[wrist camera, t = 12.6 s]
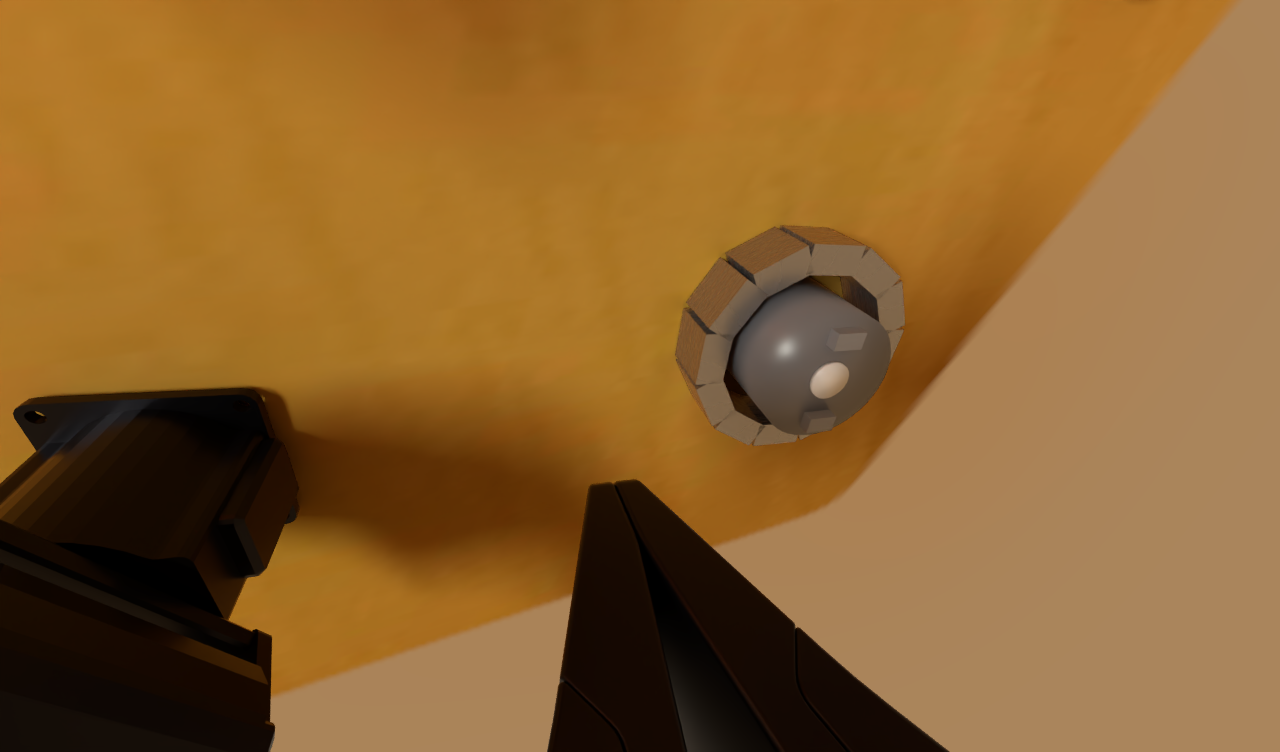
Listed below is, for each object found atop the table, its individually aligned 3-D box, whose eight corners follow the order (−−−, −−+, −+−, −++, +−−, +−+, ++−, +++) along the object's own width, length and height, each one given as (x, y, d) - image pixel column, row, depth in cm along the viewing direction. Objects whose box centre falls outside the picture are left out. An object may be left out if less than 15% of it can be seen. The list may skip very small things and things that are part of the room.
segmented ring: (663, 419, 24) (681, 453, 22) (699, 221, 19) (725, 240, 17) (828, 407, 27) (857, 435, 25) (896, 231, 22) (939, 248, 20)
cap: (706, 383, 23) (755, 450, 19) (727, 271, 20) (789, 323, 16) (807, 374, 25) (871, 434, 21) (839, 269, 22) (921, 316, 18)
